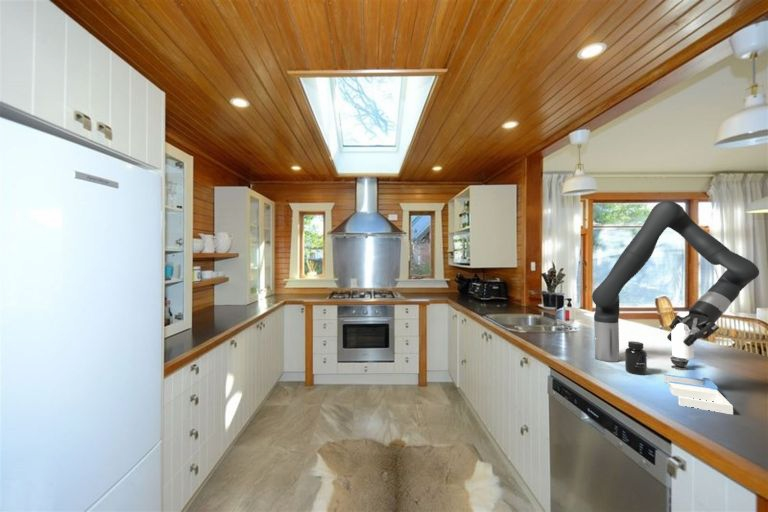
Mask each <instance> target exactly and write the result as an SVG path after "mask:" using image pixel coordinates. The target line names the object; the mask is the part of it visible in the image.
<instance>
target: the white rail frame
mask: <svg viewBox="0 0 768 512" xmlns="http://www.w3.org/2000/svg"><path fill="white" fill-rule="evenodd" d="M663 377H664V378H663V379H664V380H663V382H664V383H665V384H669V387H668V388H669V391H670V393H671V394H672V396H675V397H677V398H678V405H679V406H680V407H685V406H687V408H691V407H694V408H693V409H697V408H699V409H698V410H703V411H708V410H710V411H709V412H714V411H715V413H716V412H717V413H722V414H726V415H734V406H733V404H731V403H730V402H729V401H728V399H726V397H724V395H722V394H721V392H720V391H719V390H718V386H717V384H715V383H714V381H712V380H711V379H710V378H709V377H708V378H707V377H702V378H694V377H688V376H679V375H671V374H663ZM693 398H694V399H693ZM699 399H701V400H699ZM706 400H707V401H706ZM712 401H714V402H712Z"/></svg>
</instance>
